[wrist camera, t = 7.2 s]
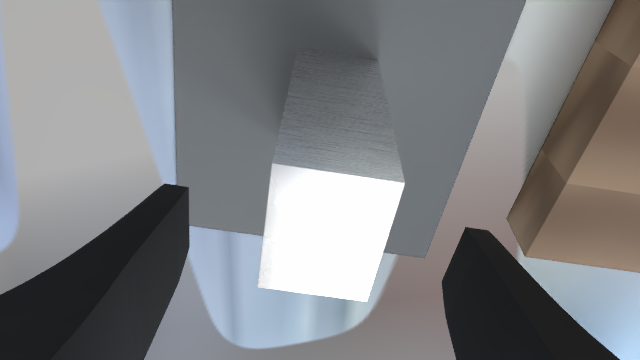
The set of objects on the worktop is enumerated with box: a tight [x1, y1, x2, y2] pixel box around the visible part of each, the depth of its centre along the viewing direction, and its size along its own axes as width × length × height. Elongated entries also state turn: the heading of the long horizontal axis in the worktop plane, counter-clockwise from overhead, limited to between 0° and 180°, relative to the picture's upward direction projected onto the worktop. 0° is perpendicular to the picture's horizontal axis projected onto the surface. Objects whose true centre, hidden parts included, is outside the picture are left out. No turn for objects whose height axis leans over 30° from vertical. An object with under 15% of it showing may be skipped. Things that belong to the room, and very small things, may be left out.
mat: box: [172, 0, 526, 258], centre depth 18 cm, size 14×12×1 cm
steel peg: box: [258, 47, 405, 302], centre depth 15 cm, size 3×4×8 cm
